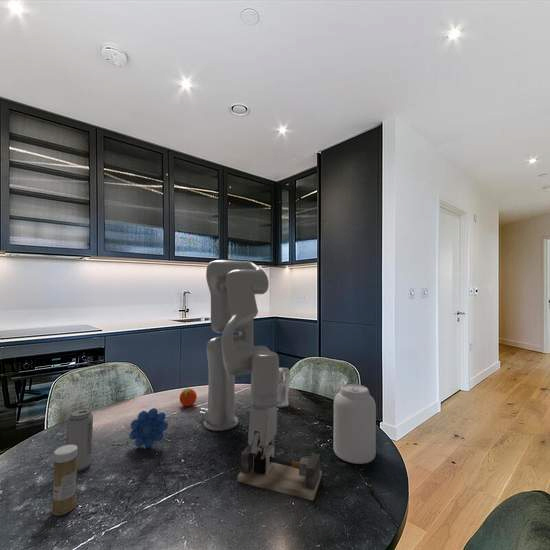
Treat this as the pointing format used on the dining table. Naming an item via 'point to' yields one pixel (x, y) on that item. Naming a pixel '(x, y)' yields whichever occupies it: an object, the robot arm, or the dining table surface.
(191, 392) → the clementine
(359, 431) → the can
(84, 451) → the energy drink can
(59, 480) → the pill bottle
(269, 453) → the sleeve
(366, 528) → the dining table surface
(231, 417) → the robot arm
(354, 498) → the dining table surface
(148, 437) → the grapes
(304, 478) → the small bench vise
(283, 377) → the beer glass
